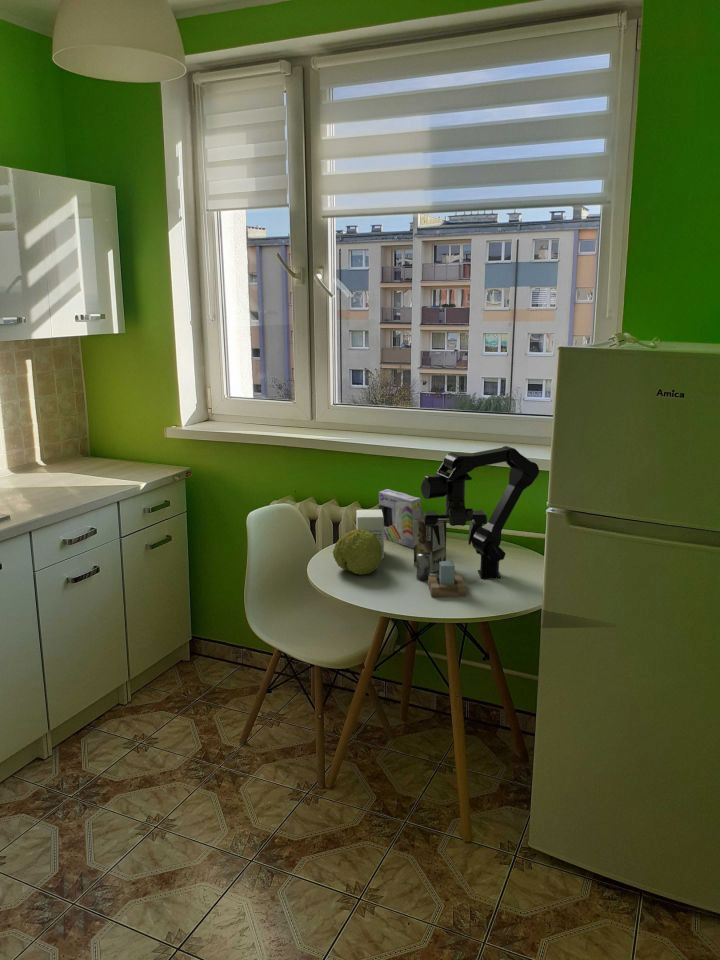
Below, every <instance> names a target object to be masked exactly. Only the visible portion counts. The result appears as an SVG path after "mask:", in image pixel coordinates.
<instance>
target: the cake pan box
mask: <svg viewBox="0 0 720 960" xmlns="http://www.w3.org/2000/svg"><path fill="white" fill-rule="evenodd" d="M378 504H379V505H378V509H377V510H380V509H381V510H382V513H383V517H384V539H385V540H387V541H391V542H393V543H397V544H400V545H403V546H406V547H407V548H412V549H414V519H416V518H419V517H422V499H421V498H420V497H416V496H413V495H409V494H407V493H405V492H401V491H400V492H398V491H395V490H392V489H388V488H386V489H384V490H380V491H378Z"/></svg>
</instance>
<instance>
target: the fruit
mask: <svg viewBox="0 0 720 960" xmlns="http://www.w3.org/2000/svg"><path fill="white" fill-rule="evenodd" d="M332 555H333V558H334V561H335V562H336V564H337V566H338V567H339V568H341V569H342V570H344V571H346V572H352V573H353V574H355V575H359V576H360V575H369V574H371V573H372V572H374V571H375V570H376V569H377V568H378V567H379V565H381V562H382V560H383V559H382V546H381V544H380V541H379V539H378V538H377V537H376V536H375V535H374V534H373V533H371V532H369V531H367V530H364V529H356V528H355V529H353V530H351V531H348V532H346V533H344V534H342V536H341V537H340V538H339V539H338V540H337V541H336V543H335V545H334V547H333V550H332Z"/></svg>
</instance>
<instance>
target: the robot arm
mask: <svg viewBox="0 0 720 960" xmlns="http://www.w3.org/2000/svg"><path fill="white" fill-rule="evenodd" d="M504 462H505V463H506V465H508V467H509V468H510V471H509V472H508V475H509V477H508V484H507V486H506V487H505V490H504V491H503V493H502V495H501V497H500V499H499V501H498V502H497V504H496V505H495V509H494V510H493V512H492V513H491V516H490V518H489V519H488V515H487V513H486V512H485V511H484V510H473V508H466V505H465V504H466V503H465V502H466V481H472V480H473V478H472V476H471V475H469V474H468V473H470V472H472V471H473V470H474V469H477V468H478V467H484V466H490V465H494V464H499V463H504ZM539 468H540V467H539V465H538V464H537V463H536V462H534V461H532V460H530V459H528V458H526V456H524V455H523V454H521V453H520V451H518V450H517V449H516V448H514V447H511V446H506V445H504V446H502V447H497V448H492V449H488V450H482V451H476V452H460V451H459V452H458V451H457V452H456V451H455V452H448V453H447V454H445V457H444V458H443V461H442V463H441V464H440V466H439V468H438V469H437V471H436V472H435V475H433V474H432V475H424V480H423V481H422V483H421V484H420V485H421V486H420V491H421V495H422V497H423V499H425V500H430V499H437V498H444V497H445V510H444V513H441V514H440V513H439V514H438V512H437V510H425V511H423V513H422V516H423V521H424V524H425V525H428V526H429V527H432V528H433V530H434V532H435V535H436V538H437V542H438V545H440V535H439V525H438V521H448V522H449V526H451V527H455V526H461V527H464V526H466V525H467V522H469V529H468V537H467V538H468V539H467V541H468V545H469V546H470V545H471V544H472V545H471V546H472V547H473V549H475V552H476V554H477V555H480V569H477V573H478V575H479V578H480V579H483V580H484V579H502V575H501V573H500V562H501V561H503V560H504V559H505V557H506V552H505V551H504V550H503V549H502V548H501V547H500V545H501V542H502V531H503V529H504V527H505V525H506V523H507V522H508V519H509V517H510V515H511V514H512V512H513V510H514V508H515V507H516V504H517V503H518V501H519V499H520V497H521V495H522V493H523V492H524V490H525V489H527V488H529V487H530V486H531V485H532V484H533V483H534V482H535V480H536V479H537V478H538V476H539V473H540V469H539Z"/></svg>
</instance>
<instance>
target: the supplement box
mask: <svg viewBox="0 0 720 960" xmlns="http://www.w3.org/2000/svg"><path fill="white" fill-rule="evenodd" d="M355 515H356V516H355V517H356V519H355V522H356V523H355V524H356V525H355V526H356V527H355V530H356V529H364V530H367V531H369V532H371V533H373V534H374V535H375V536H376V537H377V538H378V539H379V541H380V544H381V546H382V559H381V560H384V558H385V557H384V556H385V549H384V548H385V547H384V546H385V544H384V543H385V540H384V539H385V538H384V517H383V513H382V510H381V509H380V510H378V509H357V510H356V514H355Z"/></svg>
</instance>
